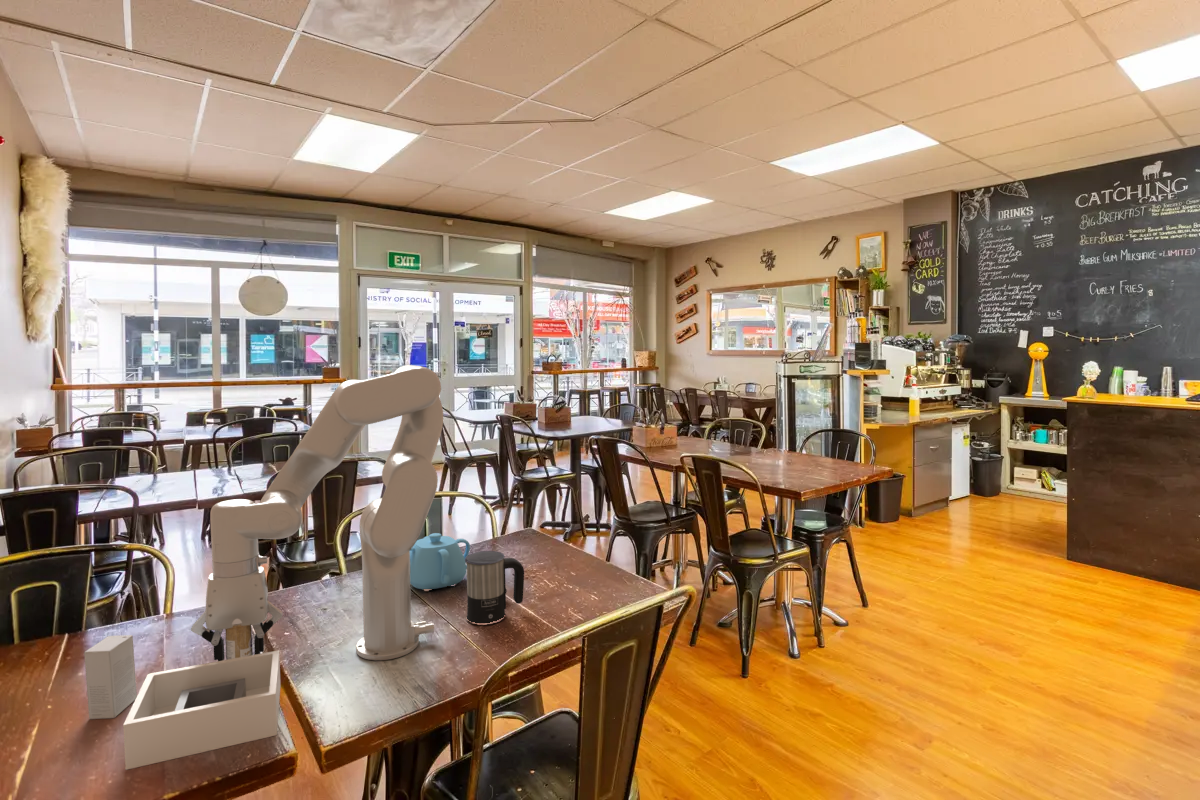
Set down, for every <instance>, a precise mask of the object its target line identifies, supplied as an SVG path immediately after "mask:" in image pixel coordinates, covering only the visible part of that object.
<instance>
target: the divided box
mask: <svg viewBox="0 0 1200 800" xmlns="http://www.w3.org/2000/svg"><path fill="white" fill-rule="evenodd" d="M280 657H281V656H280V650H274V651H268V652H263V653H262V652H261V653H260V654H256V655H255V654H253V655H251V656H245V657H239V658H234V659H228V660H226V659H224V660H222V661H218V660H216V661H213V662H206V663H202V664H195V665H190V666H185V667H180V668H174V669H168V670H162V671H156V672H151V673H147V675H146V677H145V678H144V679H145V680H144V681H143V683H142V685H141V687H140V689H139V691H138V693H137V697H136V699H135V700H134V701H133V704H132V706H131V707H130V709H129V712H128V714H127V716H126V718H125V720H124V722H123V725H122V727H123V730H122V731H123V746H124V747H123V748H124V763H125V770H126V771H127V770H132V769H136V768H139V767H145V766H148V765H152V764H156V763H161V762H166V761H170V760H174V759H175V760H176V759H178V758H184V757H187V756H188V757H189V756H193V755H197V754H200V753H206V752H210V751H214V750H218V749H222V748H227V747H230V746H235V745H240V744H243V743H248V742H252V741H257V740H258V741H259V740H261V739H265V738H269V737H274V736H278V729H279V728H278V726H279V711H280V700H281V699H280V698H281V663H280Z"/></svg>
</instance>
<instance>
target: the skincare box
mask: <svg viewBox="0 0 1200 800" xmlns="http://www.w3.org/2000/svg"><path fill="white" fill-rule="evenodd" d="M134 652H135V651H134V637H133V635H131V634H130V635H124V634H123V635H108V636H106V637H105V638H103V639H102V640H100V641H99V642H98V643H96V644H94V645H93V646H92V647H90V648H88V649H87V650H85V651H84V653H83V654H84V665H85V666H84V667H85V681H86V682H85V683H86V695H87V707H88V708H87V709H88V718H89V720H96V719H97V720H98V719H99V720H101V719H115V718H116V717H117V716H118V715H119V714H120V713H121V712H123V711H124V710H125V709H126V708H127V707H128V706H130V705H131V704H132V703H134V702H135V699H136V697H137V695H138V693H137V680H136V666H135V665H136V664H135V653H134Z"/></svg>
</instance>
